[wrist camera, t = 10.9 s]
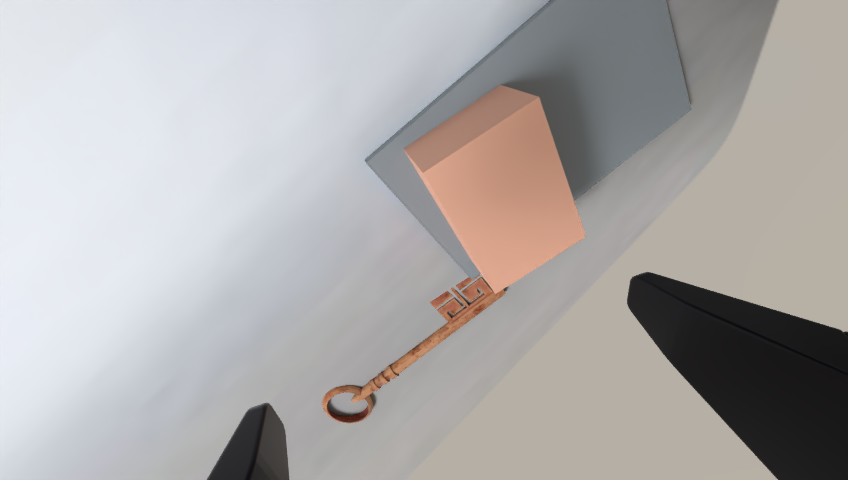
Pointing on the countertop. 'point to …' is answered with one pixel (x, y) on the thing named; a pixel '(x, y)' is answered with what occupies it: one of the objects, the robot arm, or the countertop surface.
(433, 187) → the card box
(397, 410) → the countertop surface
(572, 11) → the mat
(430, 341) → the key
